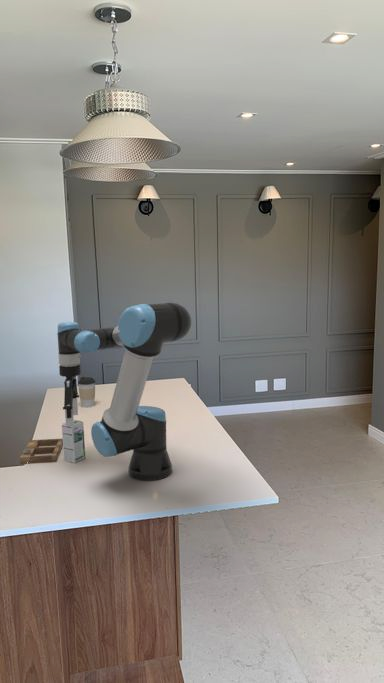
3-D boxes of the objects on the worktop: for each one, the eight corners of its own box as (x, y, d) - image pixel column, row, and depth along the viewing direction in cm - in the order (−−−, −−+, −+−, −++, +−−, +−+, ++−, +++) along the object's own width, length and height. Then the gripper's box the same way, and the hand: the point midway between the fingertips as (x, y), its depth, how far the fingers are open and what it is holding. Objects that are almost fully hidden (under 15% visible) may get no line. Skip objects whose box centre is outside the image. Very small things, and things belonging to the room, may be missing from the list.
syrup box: (74, 463, 181) (72, 425, 179) (63, 460, 184) (61, 423, 182) (85, 458, 186) (84, 421, 184) (74, 455, 189) (72, 419, 187)
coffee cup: (100, 404, 261) (98, 377, 258) (87, 409, 253) (86, 380, 251) (87, 402, 265) (86, 375, 263) (75, 406, 258) (73, 378, 256)
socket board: (56, 461, 183) (55, 454, 182) (20, 463, 181) (19, 456, 181) (63, 444, 201) (63, 437, 201) (30, 446, 200) (30, 439, 199)
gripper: (76, 371, 168) (78, 430, 171) (83, 358, 192) (85, 410, 196) (53, 371, 167) (56, 431, 170) (64, 358, 191) (66, 411, 195)
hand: (72, 420), depth 183 cm, fingers open, 13 cm apart
